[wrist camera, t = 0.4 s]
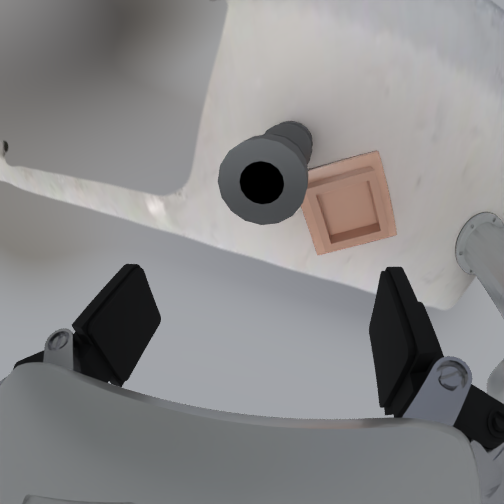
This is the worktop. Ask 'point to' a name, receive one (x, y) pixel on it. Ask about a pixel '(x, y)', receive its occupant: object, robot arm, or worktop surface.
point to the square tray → (348, 203)
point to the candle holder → (267, 174)
